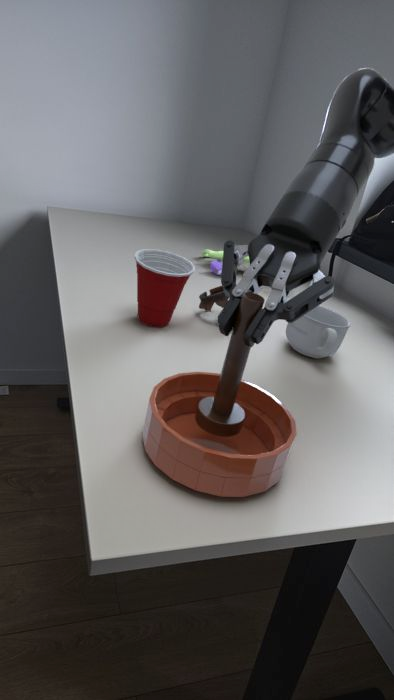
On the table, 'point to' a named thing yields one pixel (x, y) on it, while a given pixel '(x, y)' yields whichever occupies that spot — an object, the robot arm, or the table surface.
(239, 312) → the brown rod with base
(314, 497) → the table surface
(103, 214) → the table surface
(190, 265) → the plastic cup
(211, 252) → the figurine
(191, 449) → the bowl
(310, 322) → the teacup
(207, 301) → the brown curved piece
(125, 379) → the table surface
